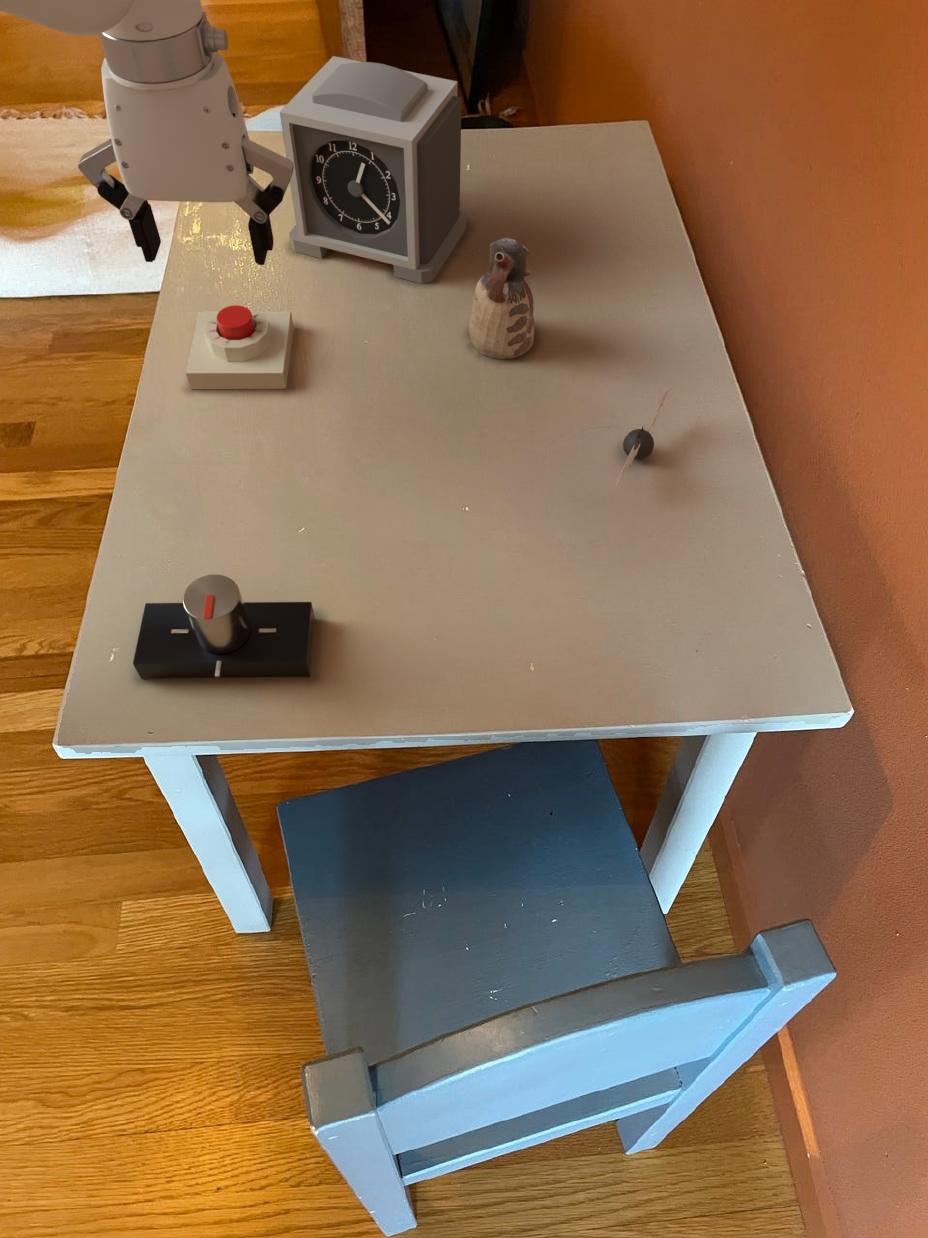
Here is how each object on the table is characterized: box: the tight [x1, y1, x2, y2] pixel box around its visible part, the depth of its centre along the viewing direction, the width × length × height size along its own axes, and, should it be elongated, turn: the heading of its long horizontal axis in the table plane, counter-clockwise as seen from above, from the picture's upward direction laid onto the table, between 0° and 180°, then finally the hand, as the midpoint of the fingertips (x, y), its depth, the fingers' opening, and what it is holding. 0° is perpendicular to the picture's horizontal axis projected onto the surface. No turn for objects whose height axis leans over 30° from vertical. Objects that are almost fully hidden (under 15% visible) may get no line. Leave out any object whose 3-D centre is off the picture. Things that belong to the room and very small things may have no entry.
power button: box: [217, 304, 255, 340], centre depth 94 cm, size 4×4×2 cm
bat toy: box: [615, 387, 672, 486], centre depth 89 cm, size 3×15×5 cm, turn 153°
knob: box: [182, 574, 251, 654], centre depth 73 cm, size 4×4×5 cm
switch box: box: [185, 306, 295, 390], centre depth 96 cm, size 10×10×4 cm
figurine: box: [468, 237, 536, 360], centre depth 95 cm, size 7×7×12 cm
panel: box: [132, 601, 316, 680], centre depth 76 cm, size 14×9×3 cm, turn 91°
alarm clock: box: [279, 55, 467, 284], centre depth 103 cm, size 18×13×18 cm
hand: (208, 253), depth 80 cm, fingers open, 9 cm apart
